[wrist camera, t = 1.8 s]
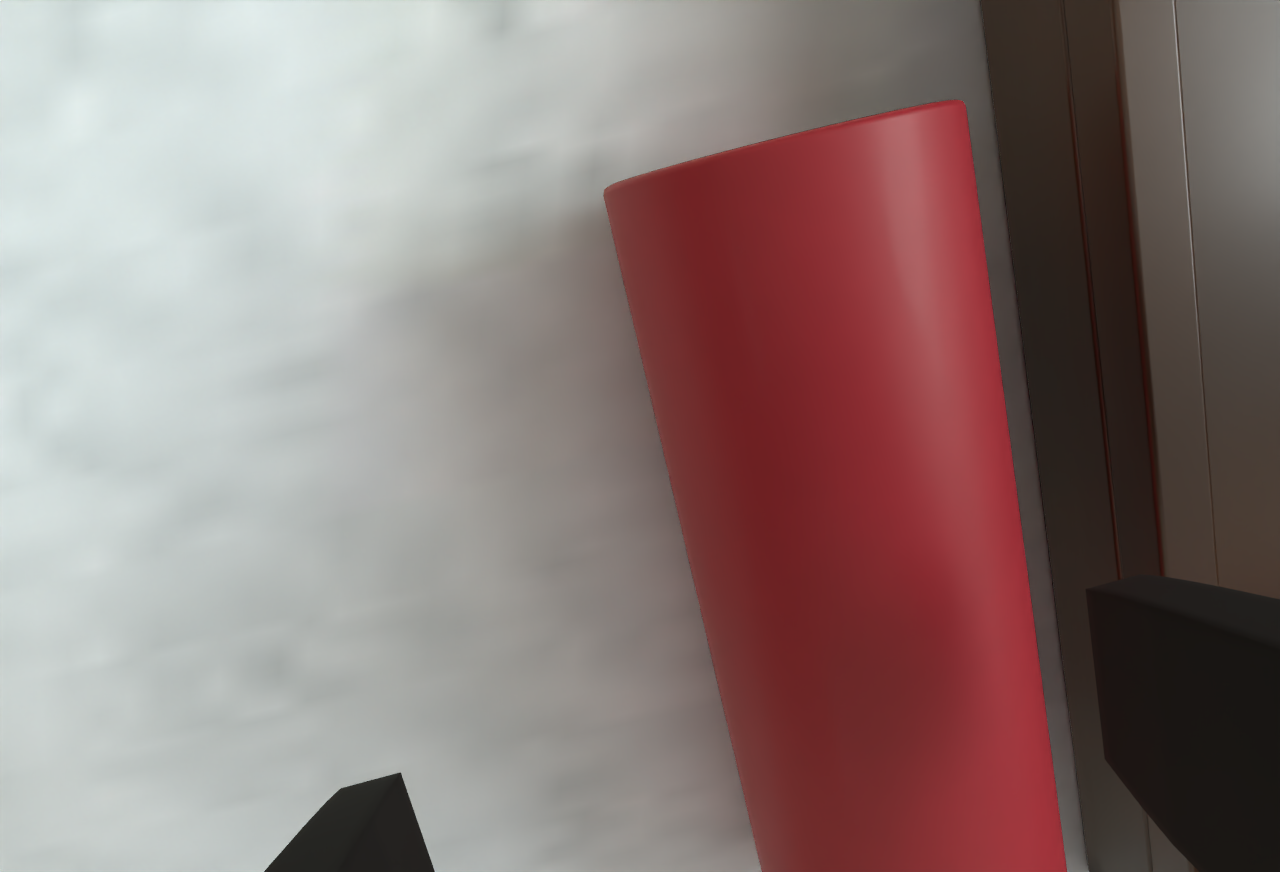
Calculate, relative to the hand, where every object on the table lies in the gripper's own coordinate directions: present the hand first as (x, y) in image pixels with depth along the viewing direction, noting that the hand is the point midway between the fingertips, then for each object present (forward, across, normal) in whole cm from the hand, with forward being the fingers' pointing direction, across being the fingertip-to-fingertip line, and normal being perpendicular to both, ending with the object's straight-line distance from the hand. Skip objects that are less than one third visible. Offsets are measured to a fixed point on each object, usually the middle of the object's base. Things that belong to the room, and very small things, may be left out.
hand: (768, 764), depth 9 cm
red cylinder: (+3, -2, 0) cm, 4 cm away
